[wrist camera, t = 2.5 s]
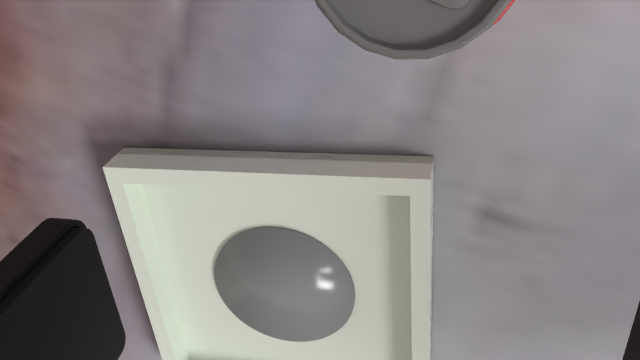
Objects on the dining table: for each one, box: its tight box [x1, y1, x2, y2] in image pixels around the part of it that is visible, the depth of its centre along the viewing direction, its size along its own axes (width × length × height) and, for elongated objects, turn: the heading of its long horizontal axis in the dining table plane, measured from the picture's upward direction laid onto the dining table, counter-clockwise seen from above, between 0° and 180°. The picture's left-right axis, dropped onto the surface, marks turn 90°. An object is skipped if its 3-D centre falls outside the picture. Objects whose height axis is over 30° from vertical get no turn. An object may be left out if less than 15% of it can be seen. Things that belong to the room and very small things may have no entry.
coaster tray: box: [103, 148, 434, 360], centre depth 36 cm, size 18×18×2 cm
